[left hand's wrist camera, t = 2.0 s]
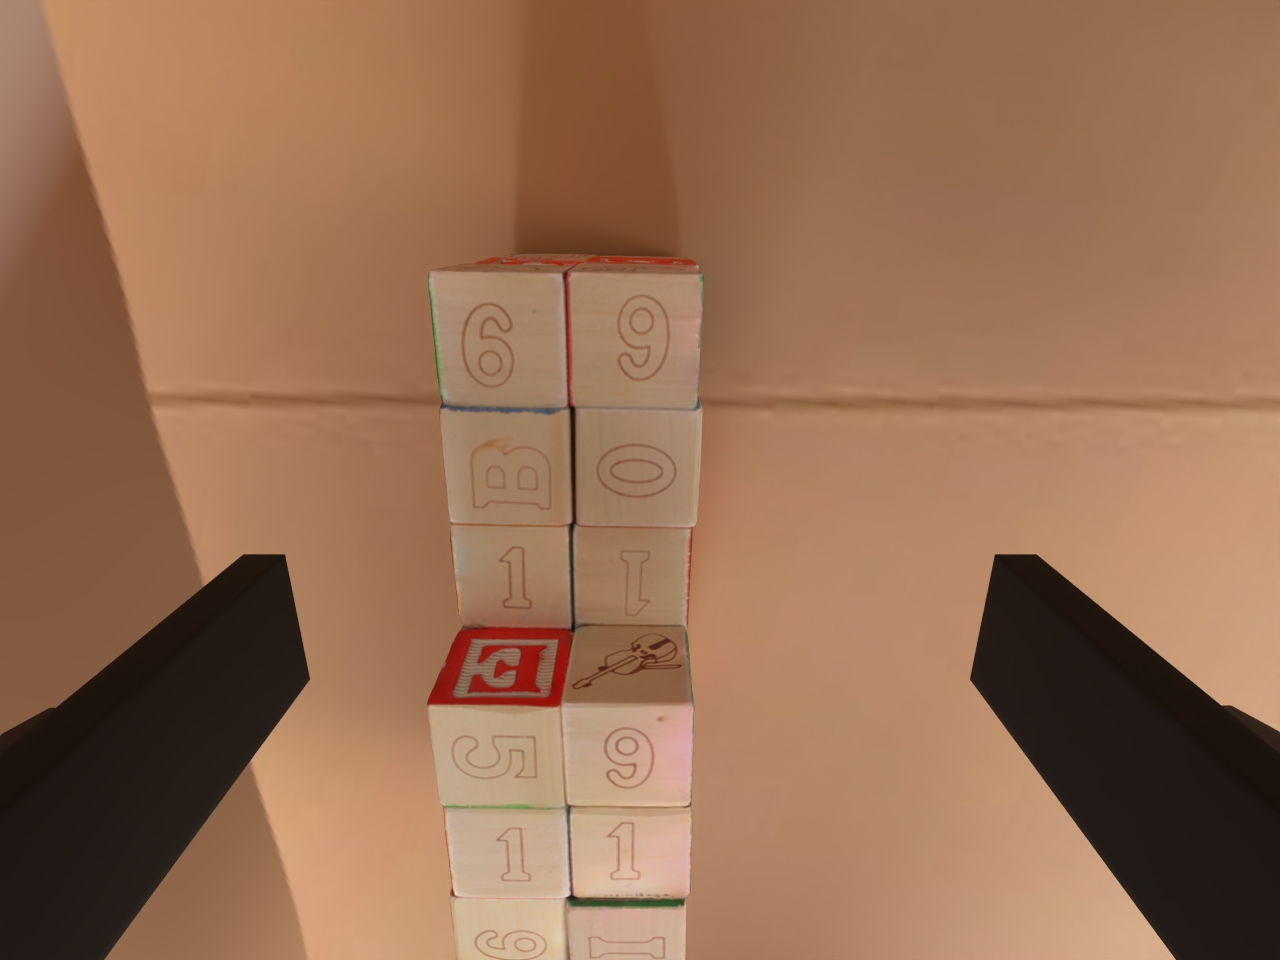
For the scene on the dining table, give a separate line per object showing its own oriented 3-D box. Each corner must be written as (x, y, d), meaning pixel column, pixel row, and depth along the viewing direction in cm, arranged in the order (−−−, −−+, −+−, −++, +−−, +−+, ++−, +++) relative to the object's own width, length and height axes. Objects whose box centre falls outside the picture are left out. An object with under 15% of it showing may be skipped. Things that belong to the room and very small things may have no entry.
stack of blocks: (506, 249, 23) (372, 271, 12) (689, 253, 23) (732, 279, 12) (528, 747, 31) (459, 1059, 19) (667, 750, 31) (680, 1063, 19)
